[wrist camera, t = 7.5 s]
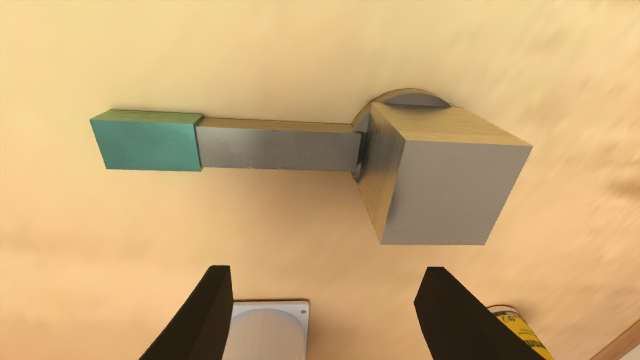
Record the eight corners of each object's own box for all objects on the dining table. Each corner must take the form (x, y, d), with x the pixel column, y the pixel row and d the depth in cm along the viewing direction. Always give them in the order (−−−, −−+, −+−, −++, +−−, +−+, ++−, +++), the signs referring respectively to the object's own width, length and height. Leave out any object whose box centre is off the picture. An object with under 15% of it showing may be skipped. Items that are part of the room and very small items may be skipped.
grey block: (435, 186, 18) (484, 245, 13) (357, 184, 18) (380, 244, 13) (461, 107, 16) (533, 146, 11) (371, 102, 15) (406, 139, 10)
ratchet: (436, 191, 20) (467, 230, 16) (133, 184, 18) (91, 227, 14) (468, 92, 16) (517, 112, 13) (97, 69, 14) (31, 86, 11)
